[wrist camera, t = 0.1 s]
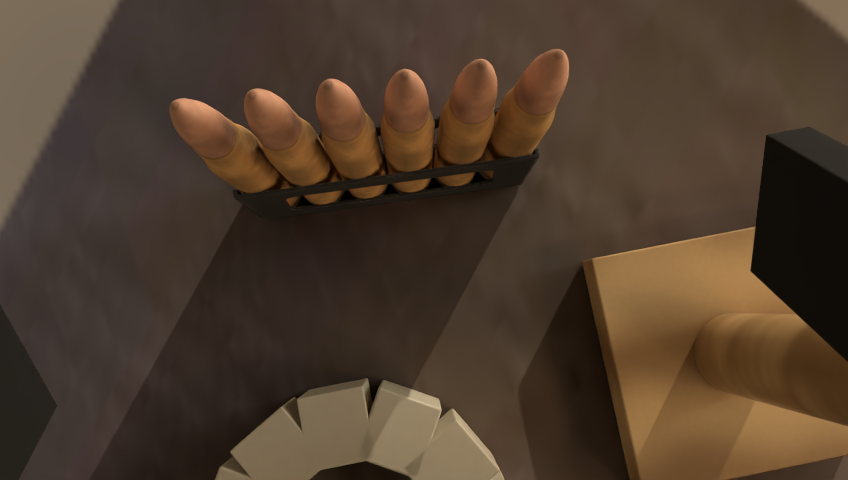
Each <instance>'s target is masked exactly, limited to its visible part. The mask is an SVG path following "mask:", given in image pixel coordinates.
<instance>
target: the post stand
mask: <svg viewBox="0 0 848 480" xmlns="http://www.w3.org/2000/svg"><path fill="white" fill-rule="evenodd" d="M754 235H755V227H751V228H746V229H741V230H736V231H730V232H725V233H720V234H715V235H710V236H705V237H700V238H695V239H689V240H684V241H679V242H674V243H669V244H664V245H659V246H654V247H649V248H643V249H638V250H633V251H628V252H623V253H618V254H613V255H608V256H602V257H597V258H592V259H589V260H585V261H583V262H582V264H583V269H584V273H585V278H586V282H587V287H588V291H589V296H590V301H591V305H592V310H593V314H594V319H595V323H596V328H597V333H598V337H599V342H600V346H601V351H602V355H603V360H604V365H605V369H606V374H607V378H608V383H609V387H610V392H611V397H612V401H613V406H614V410H615V415H616V419H617V424H618V429H619V433H620V438H621V442H622V447H623V451H624V456H625V461H626V465H627V470H628V474H629V479H630V480H729V479H734V478H739V477H744V476H749V475H754V474H758V473H763V472H768V471H773V470H778V469H783V468H788V467H792V466H797V465H802V464H807V463H812V462H817V461H821V460H826V459H831V458H836V457H841V456H846V455H848V362H847V361H846V360H845V359H844V358H843V357H842V356H841V355H839V354H838V353H837V352H836V351H835V350H834V349H833V348H832V347H831V346H830V345H829V344H828V343H827V342H826V341H825V340H823V339H822V338H821V337H820V336H819V335H818V334H817V333H816V332H815V331H814V330H813V329H812V328H811V327H810V326H808V325H807V324H806V323H805V322H804V321H803V320H802V319H801V318H800V317H799V316H798V315H797V314H796V313H795V312H793V311H792V310H791V309H790V308H789V307H788V306H787V305H786V304H785V303H784V302H783V301H782V300H781V299H780V298H779V297H777V296H776V295H775V294H774V293H773V292H772V291H771V290H770V289H769V288H768V287H767V286H766V285H765V284H764V283H762V282H761V281H760V280H759V279H758V278H757V277H756V276H755V275H754V274H753V273H752V272H751V271H750V269H751V261H752V252H753V244H754Z"/></svg>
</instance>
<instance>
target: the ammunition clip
mask: <svg viewBox="0 0 848 480" xmlns="http://www.w3.org/2000/svg"><path fill="white" fill-rule="evenodd" d="M568 74H569V63H568V59H567V56H566V54H565V53H564V52H563V51H562V50H559V49H553V50H549V51H547V52H545V53H543V54H542V55H540V56H538V57H537V58H536V59H535V60H534V61H533V62H532V63H531V64H530V65H529V66H528V68H527V69H526V70H525V71H524V73H523V74H522V76H521V78H520V80H519V81H518V82H517V83H516V85H515V87H513V88H512V89H511V90H510V91H509V92H508V93H507V94H506V95H505V96H504V98H503V100H502V103H501V105H500V107H499V108H497V109H495V102H496V99H497V77H496V74H495V71H494V69H493V66H492V65H491V64H490V63H489V62H488V61H486V60H484V59H477V60H474V61H473V62H471V63H470V64H468V65H467V66H466V67H465V68H464V69H463V70H462V72H461V73H460V74H459V76H458V78H457V80H456V82H455V84H454V87H453V89H452V93H451V96H450V98H449V100H448V101H447V102H446V103H445V105H444V107H443V110H442V112H441V116H437V117H433V116H432V113H431V112H430V107H429V98H428V95H427V91H426V88H425V85H424V83H423V82H422V80H421V79H420V78H419V77H418V75H417V74H416V73H415V72H413V71H411V70H408V69H402V70H400V71H398V72H396V73H395V74H394V75H393V77H392V78H391V79H390V81H389V83H388V86H387V88H386V91H385V97H384V115H383V117H382V120H381V124H378V125H374V123H373V121H372V120H371V119H370V117H369V116H368V115H367V114H366V113H365V111H364V109H363V108H362V106H361V103H360V101H359V99H358V98H357V96H356V95H355V94H354V92H353V91H352V90H351V89H350V88H349V87H348V86H347V85H346V84H344V83H342V82H341V81H339V80H336V79H327V80H325V81H324V82H323V83H322V84H321V85H320V86H319V89H318V92H317V95H316V111H317V116H318V119H319V122H320V125H321V128H322V132H318V133H316V132H315V130H314V129H313V128H312V126H311V125H310V124H309V123H308V122H307V121H305V120H303V119H302V118H300V117H299V116H298V115H297V114H296V113H295V112H294V111H293V110H292V109H291V107H290V106H289V105H288V104H287V103H286V102H285V101H284V100H283V99H282V98H280V97H279V96H277V95H275V94H274V93H272V92H270V91H267V90H264V89H252V90H250V91H249V92H248V93H247V94H246V96H245V99H244V111H245V115H246V118H247V121H248V124H249V126H250V128H251V130H252V131H253V133H254V134H255V135H256V137H257V138H258V139H257V138H256V137H255V135H254V134H253V133H252V132H250V131H249V130H248V129H246V128H244V127H243V126H241V125H238V124H235V123H233V122H232V121H231V120H229V119H227V118H226V117H225V116H223V115H222V114H221V113H220V112H218V111H217V110H215V109H213V108H212V107H210V106H208V105H207V104H205V103H202V102H199V101H196V100H191V99H186V98H183V99H177V100H175V101H173V102H172V103H171V105H170V116H171V120H172V122H173V125H174V127H175V129H176V131H177V132H178V133H179V135H180V136H181V137H182V139H183V140H184V141H185V142H186V143H187V144H188V145H189V146H190V147H191V148H192V149H193V150H195V151H196V152H197V154H198V155H199V156H200V157H202V158H203V160H204V162H205V163H206V165H207V166H208V167H209V169H210V170H211V171H212V172H213V173H215V174H216V175H218V176H219V177H221V178H222V179H224V180H225V181H227V182H228V183H230V184H231V185H232V186H234V187H235V188H237V189H238V190H240V191H241V192H243V193H244V194H242V193H240V192H239V191H238V190H237V189H235V190H233V193H234V198H235V199H236V200H238V201H239V202H241V203H242V204H244V205H245V206H246V207H248V208H249V209H251V210H252V211H254V212H255V213H256V214H258V215H259V216H260V217H262V218H264V219H274V218H281V217H289V216H296V215H303V214H310V213H318V212H325V211H332V210H340V209H347V208H354V207H362V206H369V205H376V204H383V203H391V202H398V201H405V200H413V199H420V198H427V197H435V196H442V195H449V194H456V193H464V192H471V191H478V190H486V189H493V188H500V187H507V186H515V185H521V184H522V183H523V181H524V180H525V178H526V177H527V175H528V174H529V172H530V171H531V169H532V167H533V166H534V164H535V163H536V161H537V160H538V158H539V149H538V148H537V149H535V147H536V146H537V144H538V143H539V141H540V140H541V139H542V137H543V136H544V134H545V133H546V132H547V130H548V129H549V127H550V126H551V124H552V121H553V119H554V116H555V109H556V107H557V104H558V102H559V100H560V98H561V96H562V94H563V92H564V89H565V86H566V83H567V80H568ZM435 128H439V130H438V137H437V144H434V137H435ZM380 135H381V137H382V142H383V147H384V151H381V147H380V143H379V139H378V136H380ZM323 144H324V145H323ZM534 149H535V150H534ZM533 150H534V152H533V153H532V151H533ZM531 153H532V155H530V154H531Z"/></svg>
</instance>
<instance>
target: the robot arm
mask: <svg viewBox="0 0 848 480" xmlns="http://www.w3.org/2000/svg"><path fill="white" fill-rule="evenodd" d="M750 271H751V272H752V273H753V274H754V275H755V276H756V277H757V278H758V279H759V280H760V281H761V282H762V283H764V284H765V285H766V286H767V287H768V288H769V289H770V290H771V291H772V292H773V293H774V294H775V295H776V296H777V297H779V298H780V299H781V300H782V301H783V302H784V303H785V304H786V305H787V306H788V307H789V308H790V309H791V310H792V311H793V312H795V313H796V314H797V315H798V316H799V317H800V318H801V319H802V320H803V321H804V322H805V323H806V324H807V325H808V326H810V327H811V328H812V329H813V330H814V331H815V332H816V333H817V334H818V335H819V336H820V337H821V338H822V339H823V340H825V341H826V342H827V343H828V344H829V345H830V346H831V347H832V348H833V349H834V350H835V351H836V352H837V353H838V354H839V355H841V356H842V357H843V358H844V359H845V360H846V361H847V362H848V146H846V145H844V144H842V143H840V142H838V141H836V140H834V139H832V138H830V137H829V136H827V135H825V134H823V133H821V132H819V131H817V130H815V129H813V128H811V127H806V128H801V129H795V130H790V131H784V132H779V133H774V134H768V135H766V142H765V150H764V159H763V167H762V176H761V184H760V193H759V201H758V210H757V218H756V227H755V235H754V244H753V252H752V261H751V269H750ZM56 407H57V405H56V403H55V401H54V399H53V397H52V396H51V394H50V392H49V390H48V389H47V387H46V385H45V383H44V382H43V380H42V378H41V376H40V374H39V373H38V371H37V369H36V367H35V366H34V364H33V362H32V360H31V359H30V357H29V355H28V353H27V351H26V350H25V348H24V346H23V344H22V343H21V341H20V339H19V337H18V336H17V334H16V332H15V330H14V328H13V327H12V325H11V323H10V321H9V320H8V318H7V316H6V314H5V312H4V311H3V309H2V307H1V305H0V480H19V478H20V476H21V474H22V472H23V470H24V468H25V466H26V464H27V463H28V461H29V459H30V457H31V455H32V453H33V451H34V449H35V447H36V445H37V443H38V441H39V439H40V438H41V436H42V434H43V432H44V430H45V428H46V426H47V424H48V422H49V420H50V418H51V416H52V415H53V413H54V411H55V409H56Z"/></svg>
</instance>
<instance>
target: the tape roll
mask: <svg viewBox="0 0 848 480" xmlns="http://www.w3.org/2000/svg"><path fill="white" fill-rule="evenodd" d="M441 411H442V410H441V405H440V401H439V399H438V398H435V397H432V396H429V395H427V394H424V393H421V392H418V391H415V390H412V389H409V388H407V387H404V386H401V385H398V384H395V383H392V382H389V381H386V380H383V381H382V382H381V384H380V386H379V388H378V391H377V394H376V397H375V400H374V402H373V403H372V397H371V392H370V387H369V381H368V378H365V379H360V380H355V381H350V382H345V383H340V384H335V385H330V386H325V387H320V388H315V389H310V390H308V391H307V392H306V393H304V394H303V395H302V396H300V397H299V398H298V399H296V398H295V397H293V398H292V399H291V400H289V401H288V402H287V403H285V404H284V405H283V406H281V407H280V408H279V409H278V410H277V411H275V412H274V413H273V414H272V415H271V416H270V417H268V418H267V419H266V420H265V421H264V422H263V423H262V424H260V425H259V426H258V427H257V428H256V429H255V430H254V431H252V432H251V433H250V434H249V435H248V436H247V437H246V438H244V439H243V440H242V441H241V442H240V443H239V444H237V445H236V446H235V447H234V448H233V449H232V450H231V451H230V453H231V454H232V455H233V457H232V458H230V459H229V460H228V461H227V462H225V463H224V464H223V465H222V466H220V468H219V470H218V472H217V475H216V478H215V480H310V479H311V478H312V477H313V476H314V475H315V474H317V473H318V472H319V471H320V470H324V469H329V468H334V467H339V466H344V465H349V464H354V463H359V462H363V461H367V462H370V463H373V464H375V465H378V466H381V467H384V468H387V469H390V470H393V471H395V472H398V473H401V474H404V475H407V476H409V478H410V479H411V480H505V479H504V477H503V475H502V473H501V471H500V469H499V467H498V465H497V463H496V461H495V459H494V457H493V455H492V453H491V452H490V451H489V450H488V449H487V447H486V446H485V445H484V444H483V443H482V442H481V440H480V439H479V438H478V437H477V436H476V435H475V433H474V432H473V431H472V430H471V429H470V428H469V426H468V425H467V424H466V423H465V422H464V421H463V419H462V418H461V417H460V416H459V415H458V414H457V412H456V411H455V410H454V409H450V410H449V411H448V412H447V413H446V414H445V415H444V416H442V417H441V418H440V419H439V417H440V414H441Z"/></svg>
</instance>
